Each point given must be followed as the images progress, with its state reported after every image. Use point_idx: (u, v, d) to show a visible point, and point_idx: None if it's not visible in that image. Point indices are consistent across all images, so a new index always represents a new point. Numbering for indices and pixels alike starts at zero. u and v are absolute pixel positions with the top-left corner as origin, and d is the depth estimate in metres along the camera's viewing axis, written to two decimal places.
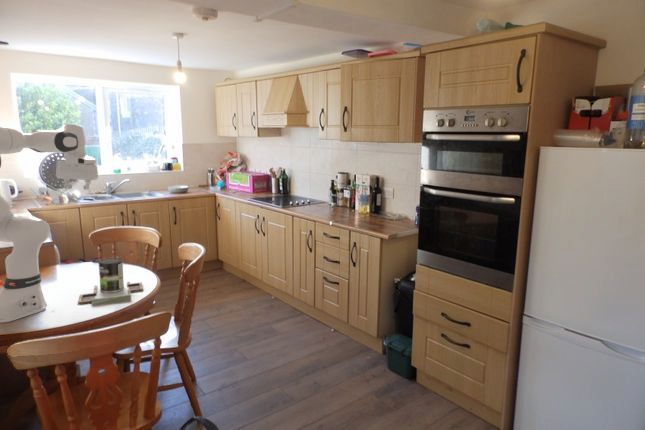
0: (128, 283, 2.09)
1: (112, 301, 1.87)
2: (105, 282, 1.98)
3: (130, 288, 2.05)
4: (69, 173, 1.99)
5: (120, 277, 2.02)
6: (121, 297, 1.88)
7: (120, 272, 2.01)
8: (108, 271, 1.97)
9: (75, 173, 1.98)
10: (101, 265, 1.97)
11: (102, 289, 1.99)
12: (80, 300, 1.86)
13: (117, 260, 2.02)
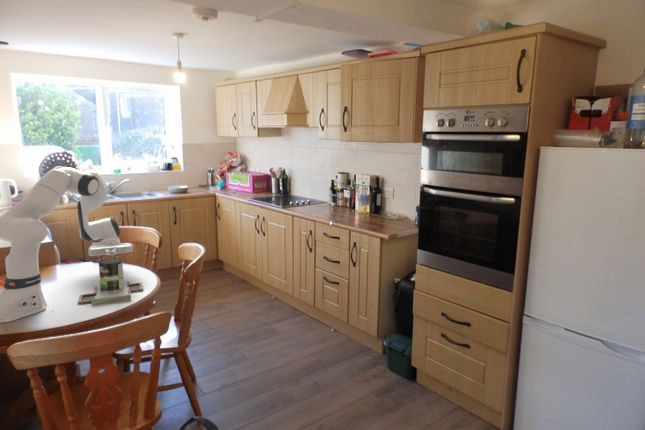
0: (128, 283, 2.09)
1: (112, 301, 1.87)
2: (105, 282, 1.98)
3: (130, 288, 2.05)
4: None
5: (120, 277, 2.02)
6: (121, 297, 1.88)
7: (120, 272, 2.01)
8: (108, 271, 1.97)
9: None
10: (101, 265, 1.97)
11: (102, 289, 1.99)
12: (80, 300, 1.86)
13: (117, 260, 2.02)
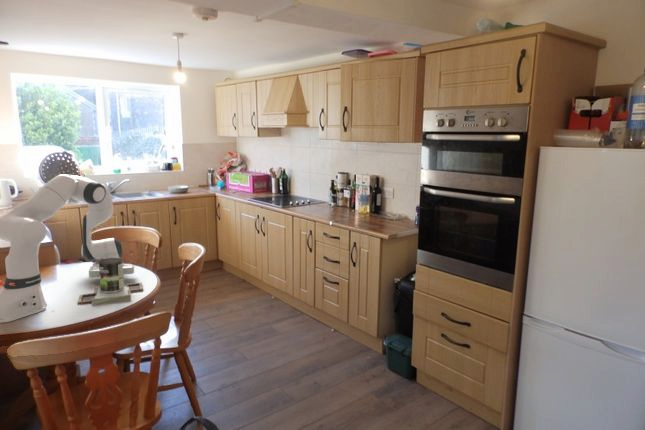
0: (128, 283, 2.09)
1: (112, 301, 1.87)
2: (105, 282, 1.98)
3: (130, 288, 2.05)
4: None
5: (120, 277, 2.01)
6: (121, 297, 1.88)
7: (120, 272, 2.01)
8: (108, 271, 1.97)
9: None
10: (101, 265, 1.97)
11: (102, 289, 1.99)
12: (80, 300, 1.86)
13: (117, 261, 2.02)
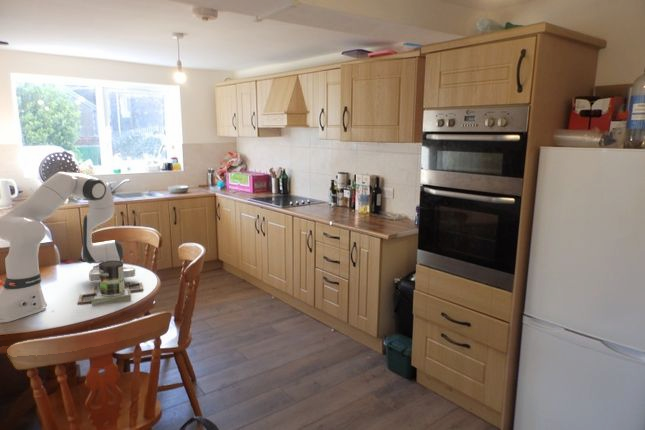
0: (128, 283, 2.09)
1: (112, 301, 1.87)
2: (105, 285, 1.94)
3: (130, 288, 2.05)
4: None
5: (120, 280, 1.97)
6: (121, 297, 1.88)
7: (120, 275, 1.97)
8: (108, 274, 1.93)
9: None
10: (101, 268, 1.93)
11: (102, 292, 1.95)
12: (80, 300, 1.86)
13: (117, 263, 1.97)
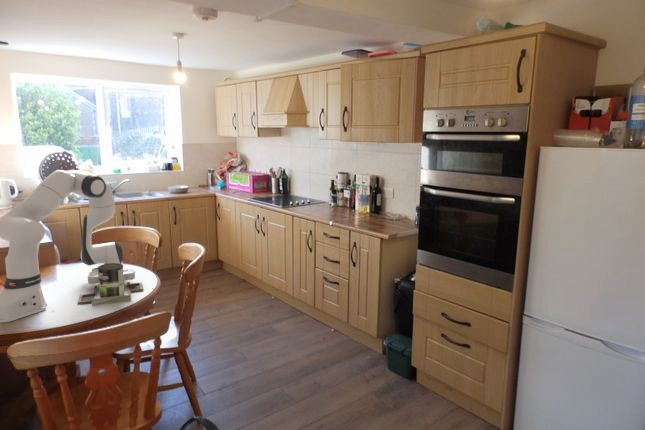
0: (128, 283, 2.09)
1: (112, 301, 1.87)
2: (105, 288, 1.89)
3: (130, 288, 2.05)
4: None
5: (120, 283, 1.93)
6: (121, 297, 1.88)
7: (120, 278, 1.92)
8: (108, 277, 1.88)
9: None
10: (100, 271, 1.88)
11: (101, 296, 1.90)
12: (80, 300, 1.86)
13: (117, 266, 1.93)
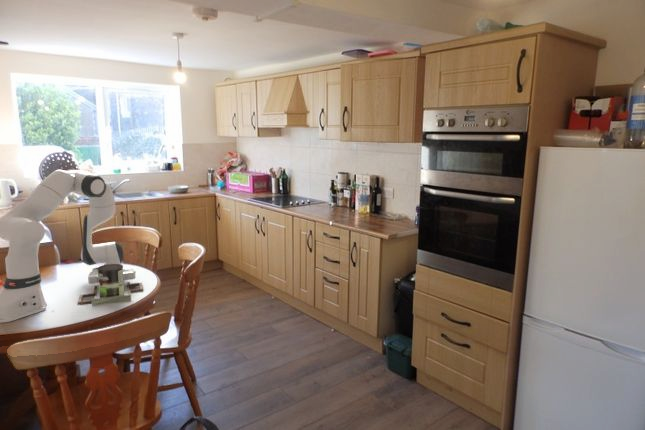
0: (128, 283, 2.09)
1: (112, 301, 1.87)
2: (105, 289, 1.88)
3: (130, 288, 2.05)
4: None
5: (120, 284, 1.92)
6: (121, 297, 1.88)
7: (120, 279, 1.91)
8: (108, 278, 1.87)
9: None
10: (100, 272, 1.87)
11: (101, 297, 1.89)
12: (80, 300, 1.86)
13: (117, 267, 1.92)
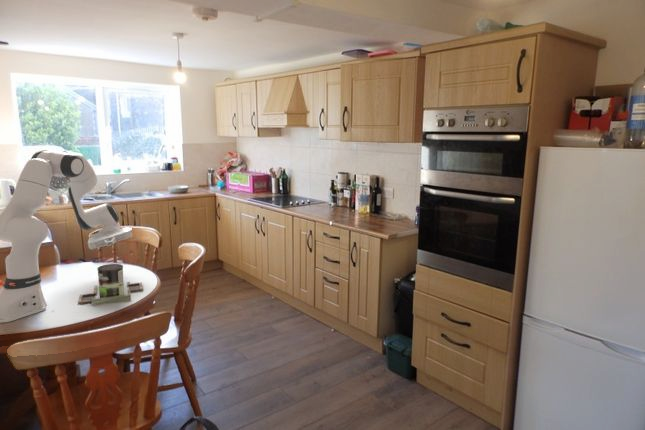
0: (128, 283, 2.09)
1: (112, 301, 1.87)
2: (105, 289, 1.88)
3: (130, 288, 2.05)
4: None
5: (120, 284, 1.92)
6: (121, 297, 1.88)
7: (120, 279, 1.91)
8: (108, 278, 1.87)
9: None
10: (100, 272, 1.87)
11: (101, 297, 1.89)
12: (80, 300, 1.86)
13: (117, 267, 1.92)
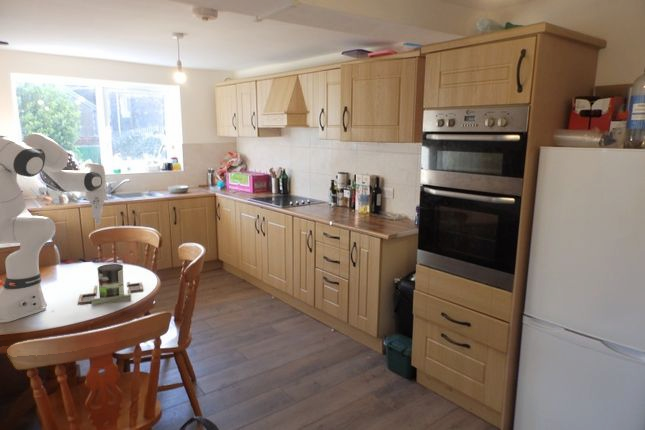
0: (128, 283, 2.09)
1: (112, 301, 1.87)
2: (105, 289, 1.88)
3: (130, 288, 2.05)
4: (101, 210, 2.07)
5: (120, 284, 1.92)
6: (121, 297, 1.88)
7: (120, 279, 1.91)
8: (108, 278, 1.87)
9: (101, 208, 2.10)
10: (100, 272, 1.87)
11: (101, 297, 1.89)
12: (80, 300, 1.86)
13: (117, 267, 1.92)
